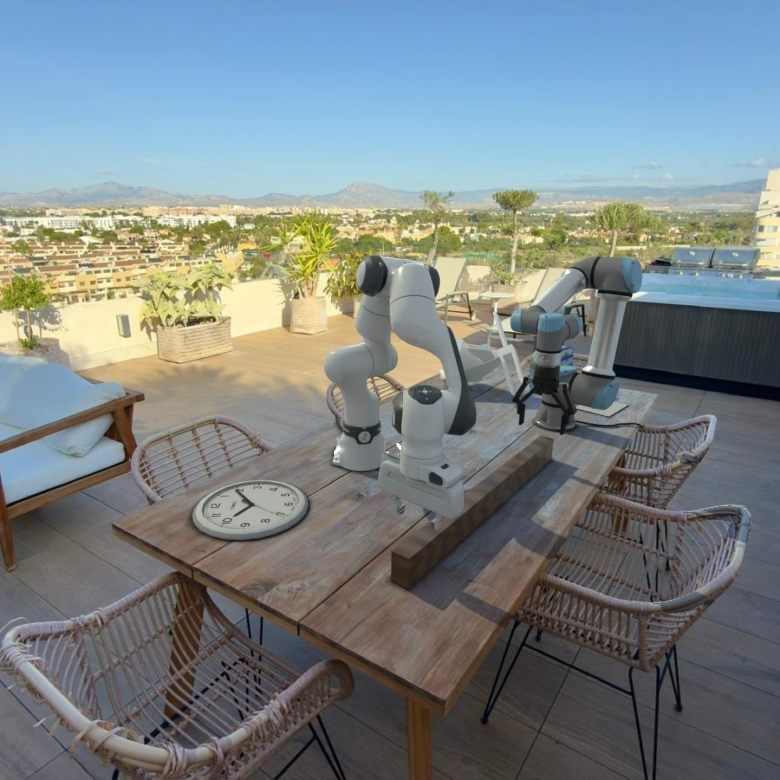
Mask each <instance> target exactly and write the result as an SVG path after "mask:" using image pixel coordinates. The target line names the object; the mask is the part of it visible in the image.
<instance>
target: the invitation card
mask: <svg viewBox="0 0 780 780" xmlns="http://www.w3.org/2000/svg"><path fill="white" fill-rule="evenodd" d="M575 406H576V409H577V410H581V411H584V412H587V413H593V414H596V415H600V416H604V417H608V418H609V417H611V416H613V415H614V414H616V413H617V412H619V411H621V410H623V409H624V408H626V407H628V406H629V404H627V403H623V402H618V401H614V402H613V404H612V405H611V406H610V407H609V408H608V409H606V410H599V409H592V408H590V407H586V406H582V405H578V404H577V405H575Z"/></svg>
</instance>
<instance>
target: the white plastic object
mask: <svg viewBox="0 0 780 780" xmlns="http://www.w3.org/2000/svg"><path fill="white" fill-rule="evenodd" d="M492 315H493V319H494V321H495V324H496V325H495V326H496V328H497V332H498V335H499V338H500V342H501V345H502V347H500V348H498V349H496V350H495V349H493V348H492V347H491V346H490V344H489V343H488V342H487V343H483V344H479V345H473V346H469V345H468V343H466V342H465V340H464V339H463V338H460V339H458V338H455V339H456V343H457V346H458V349H459V353H460V357H461V360H462V364H463V368H464V372H465V375H466V379H467V383H468V384H469V383H473V384H477V383H480V382H482V381H484V378H485V377H486V376H487V375H489V374H490V373H492V372H494V371H495V370H496V369H497V368H499V367H500V366H502V370H503V373H504V376H505V380H506V383H507V386H508V390H509V393H510V394H511V395H512V397H514V396H515V394H516V393H517V390H516V388H515V385H514V381H513V378H512V375H511V371H510V369H509V365H508V361H510V360H513V363H514V366H515V369H516V372H517V376H518V380H519V382H520V386H521V385H522V383H523V378H524V377H525V375H524V371H523V369H522V368H523V367H522V366H521V362H520V359H519V355H518V352H517V349H516V347H515V346H514V345H513V343H511V344H508V341H507V337H506V334H505V331H504V328H503V325H502V321H501V318H500V315H499V314H498V312H497V311H496V310H495V311H492ZM438 372H439V376H440V381H442V383H443V384H444V385H445V386H447V382H446V378H445V374H444V370H443V368H442V369H440V370H439V371H438ZM528 387H529V386H527V387H526V388H525V390H524V391H523V394H524V395H526V394H527V393H528V392H529V391H530V389H529V388H528Z"/></svg>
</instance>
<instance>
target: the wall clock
mask: <svg viewBox="0 0 780 780" xmlns="http://www.w3.org/2000/svg"><path fill="white" fill-rule="evenodd" d="M308 509H309V502H308V498H307V496H306V494H305V493H304V492H303V491H302V490H300V489H299V488H297V487H296V486H294V485H292V484H289V483H286V482H284V481H283V482H282V481H276V480H268V479H267V480H266V479H257V480H245V481H240V482H236V483H231V484H229V485H226V486H223V487H220V488H218V489H216V490H214V491H212V492H210V493H209V494H207V495H205V497H203V498H202V499H201V500H200V501H198V503H197V504H196V506H195V507H194V508H193V512H192V516H191V517H192V521H193V524H194V526H195V527H196V528H197V530H199V531H200V532H201V533H203V534H206V535H207V536H210V537H212V538H216V539H222V540H226V541H227V540H229V541H245V540H246V541H247V540H256V539H261V538H265V537H266V538H267V537H271V536H274V535H276V534H278V533H281V532H283V531H286V530H288V529H289V528H291V527H293V526H295V525H296V524H297V523H299V522H300V521H301V520H302V518H304V516H305V515H306V513H307V511H308Z"/></svg>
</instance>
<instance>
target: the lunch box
mask: <svg viewBox="0 0 780 780" xmlns="http://www.w3.org/2000/svg"><path fill="white" fill-rule="evenodd" d="M535 355H536V350H534V352H533V353H532V355H531V358H530V359H531V360H530V366H529V376H530V377H532V378H533V377H534V366H535V364H536V363H535ZM573 363H574V347H572V346H568V345H562V353H561V363H560V365H559V366H573ZM528 387H529V390H532V389H533V388H534V385H533V383H532V382H530V383H529V384H528Z"/></svg>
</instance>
